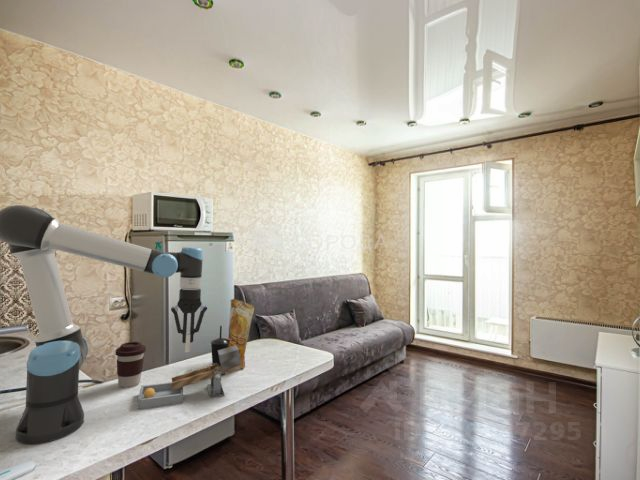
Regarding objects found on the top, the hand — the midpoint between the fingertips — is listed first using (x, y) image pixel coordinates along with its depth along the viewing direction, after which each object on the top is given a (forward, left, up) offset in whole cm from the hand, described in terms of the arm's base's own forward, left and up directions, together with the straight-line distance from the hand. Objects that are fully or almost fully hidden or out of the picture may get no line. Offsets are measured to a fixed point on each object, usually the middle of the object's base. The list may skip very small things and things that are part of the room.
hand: (187, 351), depth 124 cm
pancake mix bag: (+22, +19, -14) cm, 32 cm away
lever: (+7, -4, -8) cm, 11 cm away
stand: (+10, -6, -14) cm, 18 cm away
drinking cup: (+13, +9, -14) cm, 21 cm away
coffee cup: (-19, +10, -14) cm, 26 cm away
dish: (-8, -6, -14) cm, 17 cm away
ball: (-12, -6, -11) cm, 18 cm away
